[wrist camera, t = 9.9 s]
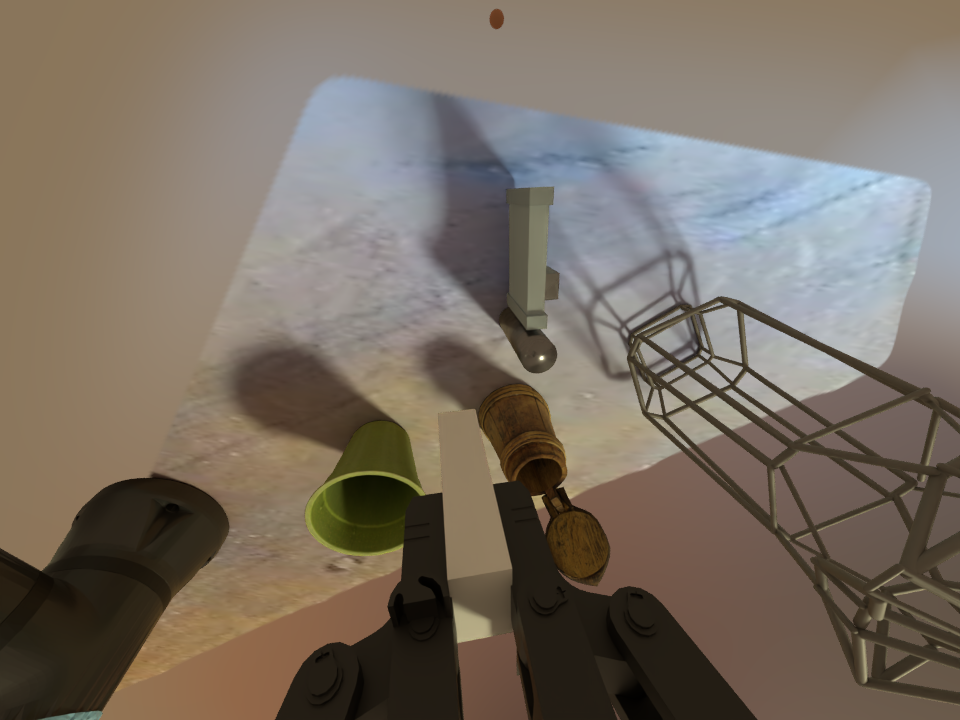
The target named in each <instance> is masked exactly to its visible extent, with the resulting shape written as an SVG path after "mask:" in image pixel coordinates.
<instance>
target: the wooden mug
mask: <svg viewBox="0 0 960 720" xmlns="http://www.w3.org/2000/svg"><path fill="white" fill-rule="evenodd" d="M479 423H480V425H481V427H482V430H483V432H484V434H485V436H486V437H487V438H488V440H489V441H490V442H491V444H492V446H493V447H494V449H495V451H496V453H497V455H498V457H499V459H500V466H501V468H502V471H503V473H504V475H505V477H506V479H507V480H508V482H512V481H518V480H519V481H520V482H521V483H522V484H523V485H524V486H525V487H526V488H527V489H528V490H529V492H530V494H531V496H537V495H542V494H545V495H544V496H543V497H542V500H543V503H544V505H545V507H546V509H547V510H548V512H549V515H550V517H551V518H550V521H549V523H548V525H547V528H546V533H545V537H546V540H547V543H548V546H549V548H550V551H551V554H552V557H553V560H554V563H555V565H556V567H557V569H558V570H559V571H560V572H561V573H562V574H563V575H564V576H566V577H568V578H569V579H571V580H573V581H576V582H578V583H582V584H586V585H592V586H598V584H599V582H600V581H601V579H602V577H603V575H604V572H605V570H606V567H607V565H608V561H609V558H610V546H609V543H608V539H607V537H606V534H605V533H604V531H603V529H602V527H601V525H600V524H599V522H598V520H597V519H596V518H595V517H594V516H593V515H592V514H591V513H590V512H587V511H585V510H583V509H581V508H578V507H575V506H573V505H572V504H571V502H570V500H569V498H568V496H567V494H566V492H565V489H564V487H562V488H557V487H558V486H559V485H560V484H561V483H562V482H563V481H564V479H565V478H566V476H567V467H566V455H565V451H564V447H563V445H562V443H561V442H560V441H559V440H558V439H557V438H556V436H555V433H554V429H553V426H552V423H551V415H550V411H549V408H548V405H547V403H546V402H545V400H544V399H543V397H542V396H541V395H540V394H539V393H538V392H537V391H535V390H534V389H533V388H531V387H530V386H527V385H522V384H514V385H508V386H505V387H502V388H499V389H498V390H496V391H494V392H492V393H491V394H490V395H489V396H488V397H487V398H486V399H485V401H484V402H483V404H482V405H481V408H480V411H479ZM559 513H560V514H559Z"/></svg>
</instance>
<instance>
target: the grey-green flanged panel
mask: <svg viewBox="0 0 960 720" xmlns="http://www.w3.org/2000/svg"><path fill="white" fill-rule="evenodd" d="M553 198H554V187H535V188H518V189H506V203H507V204H509V293H507V304H508V306H509V307H510V309H511V310H512V311H513V313H514V314H515V315H516V317H517V318H518V319H519V321H520V322H521V323H522V325H523V326H524V327H525V329H526V330H535V329H546V328H547V316H548V315H547V314H546V313H545V312H544V303H545V282H546V260H547V238H548V216H549V205H553Z"/></svg>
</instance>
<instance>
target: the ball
mask: <svg viewBox="0 0 960 720" xmlns="http://www.w3.org/2000/svg"><path fill="white" fill-rule="evenodd" d="M489 19H490V25H491V26H492V28H494V29H499V28H500V27H502V25H503V22H504V15H503V13H502V11H501V10H500V9H494V10H493V11H492V12H491V14H490V18H489Z"/></svg>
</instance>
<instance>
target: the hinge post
mask: <svg viewBox="0 0 960 720" xmlns="http://www.w3.org/2000/svg"><path fill="white" fill-rule="evenodd" d="M499 324H500V326H501V328H502V330H503V331H504V333H505V335H506V337H507V338H508V340H509V342H510V344H511V345H512V347H513V349H514V351H515V353H516V354H517V356H518V358H519V360H520V361H521V363H522V365H523V367H524V368H525V369H526V370H527V371H529V372H531V373H542V372H545V371H547V370H548V369H550V368H551V367H552V366H553V365H554V363H555V361H556V358H557V350H556V348H555V346H554V345H553V344H552V342H551V341H550V340H549V339H548V338H547V337H546V335H545V334H544V333H543V332H542V331H541V330H540V329H535V330H526V329H525V327H524V326H523V325H522V323H521V322H520V321H519V319H518V318H517V317H516V315H515V314H514V313H513V311H512V310H511V309H510V307H507V308H506V309H504V310H503V311H502V313H501V314H500V317H499Z"/></svg>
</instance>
